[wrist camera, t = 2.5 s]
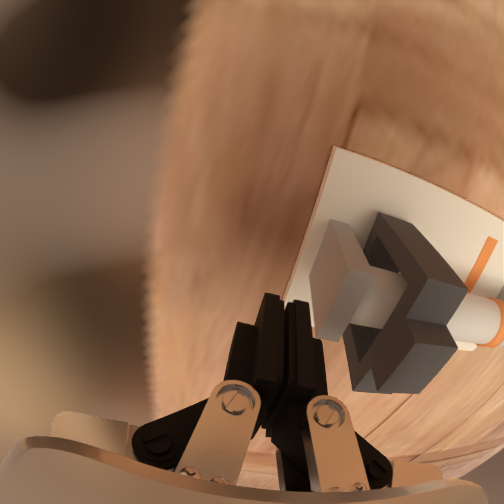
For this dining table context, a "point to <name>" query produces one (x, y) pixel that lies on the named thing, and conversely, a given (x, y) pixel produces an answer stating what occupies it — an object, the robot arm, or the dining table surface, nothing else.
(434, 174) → the dining table surface
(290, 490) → the robot arm
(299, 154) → the dining table surface
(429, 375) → the dark grey notched block
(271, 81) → the dining table surface
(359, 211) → the rail
